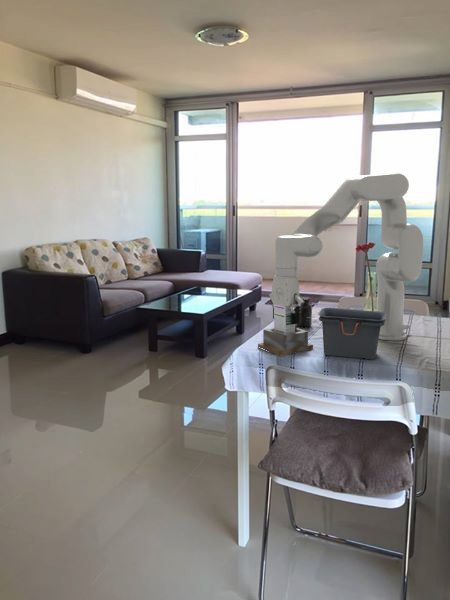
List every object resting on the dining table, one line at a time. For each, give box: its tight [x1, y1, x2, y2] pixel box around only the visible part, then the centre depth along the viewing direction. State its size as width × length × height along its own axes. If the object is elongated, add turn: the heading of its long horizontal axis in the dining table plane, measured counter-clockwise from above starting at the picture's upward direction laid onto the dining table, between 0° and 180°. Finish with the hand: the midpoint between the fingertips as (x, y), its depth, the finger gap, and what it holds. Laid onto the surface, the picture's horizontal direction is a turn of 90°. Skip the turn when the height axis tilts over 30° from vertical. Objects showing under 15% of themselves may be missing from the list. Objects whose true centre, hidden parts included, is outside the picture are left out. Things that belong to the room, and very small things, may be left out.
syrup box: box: [273, 304, 298, 335], centre depth 173 cm, size 6×6×14 cm
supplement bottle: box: [297, 296, 313, 329], centre depth 203 cm, size 7×7×12 cm
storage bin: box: [317, 307, 386, 360], centre depth 165 cm, size 21×16×14 cm
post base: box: [257, 327, 314, 357], centre depth 174 cm, size 15×12×6 cm
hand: (285, 321), depth 173 cm, fingers open, 9 cm apart
